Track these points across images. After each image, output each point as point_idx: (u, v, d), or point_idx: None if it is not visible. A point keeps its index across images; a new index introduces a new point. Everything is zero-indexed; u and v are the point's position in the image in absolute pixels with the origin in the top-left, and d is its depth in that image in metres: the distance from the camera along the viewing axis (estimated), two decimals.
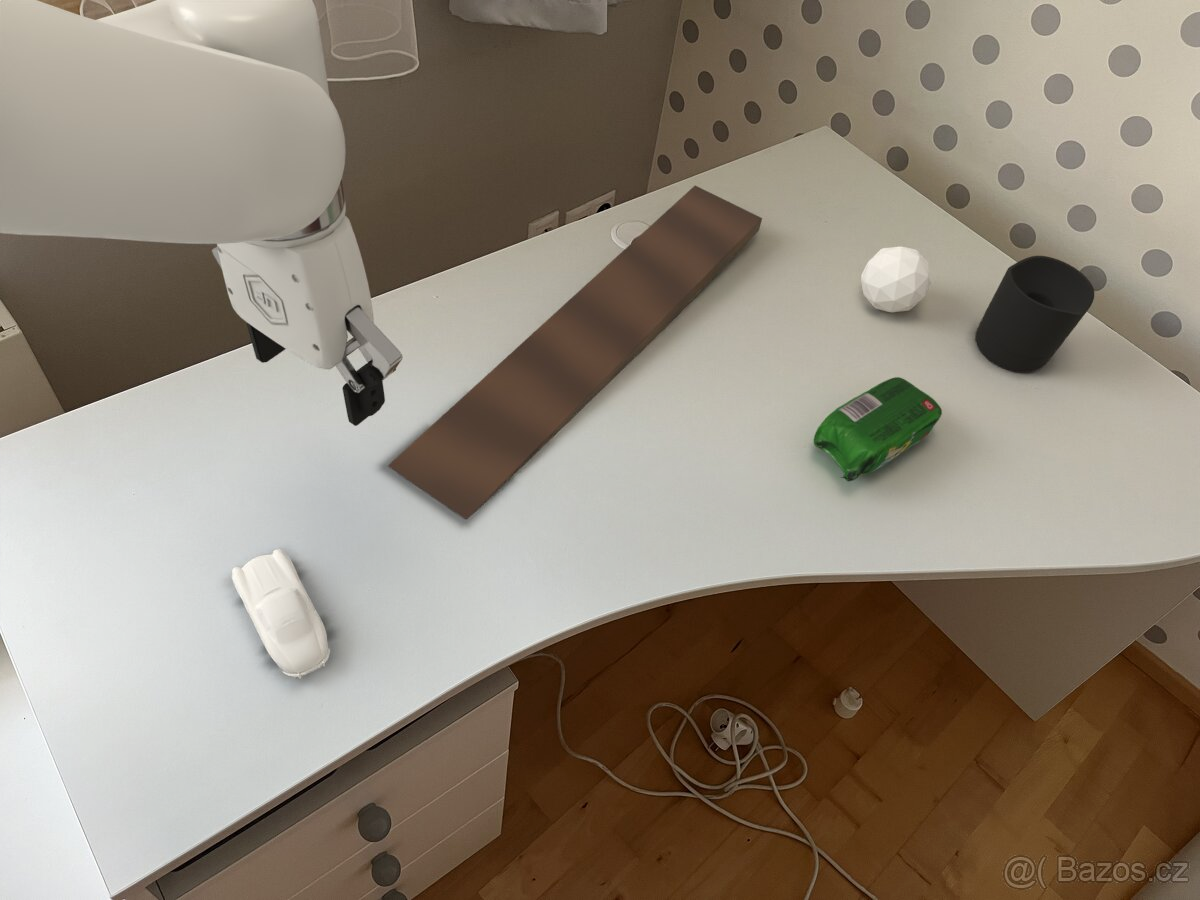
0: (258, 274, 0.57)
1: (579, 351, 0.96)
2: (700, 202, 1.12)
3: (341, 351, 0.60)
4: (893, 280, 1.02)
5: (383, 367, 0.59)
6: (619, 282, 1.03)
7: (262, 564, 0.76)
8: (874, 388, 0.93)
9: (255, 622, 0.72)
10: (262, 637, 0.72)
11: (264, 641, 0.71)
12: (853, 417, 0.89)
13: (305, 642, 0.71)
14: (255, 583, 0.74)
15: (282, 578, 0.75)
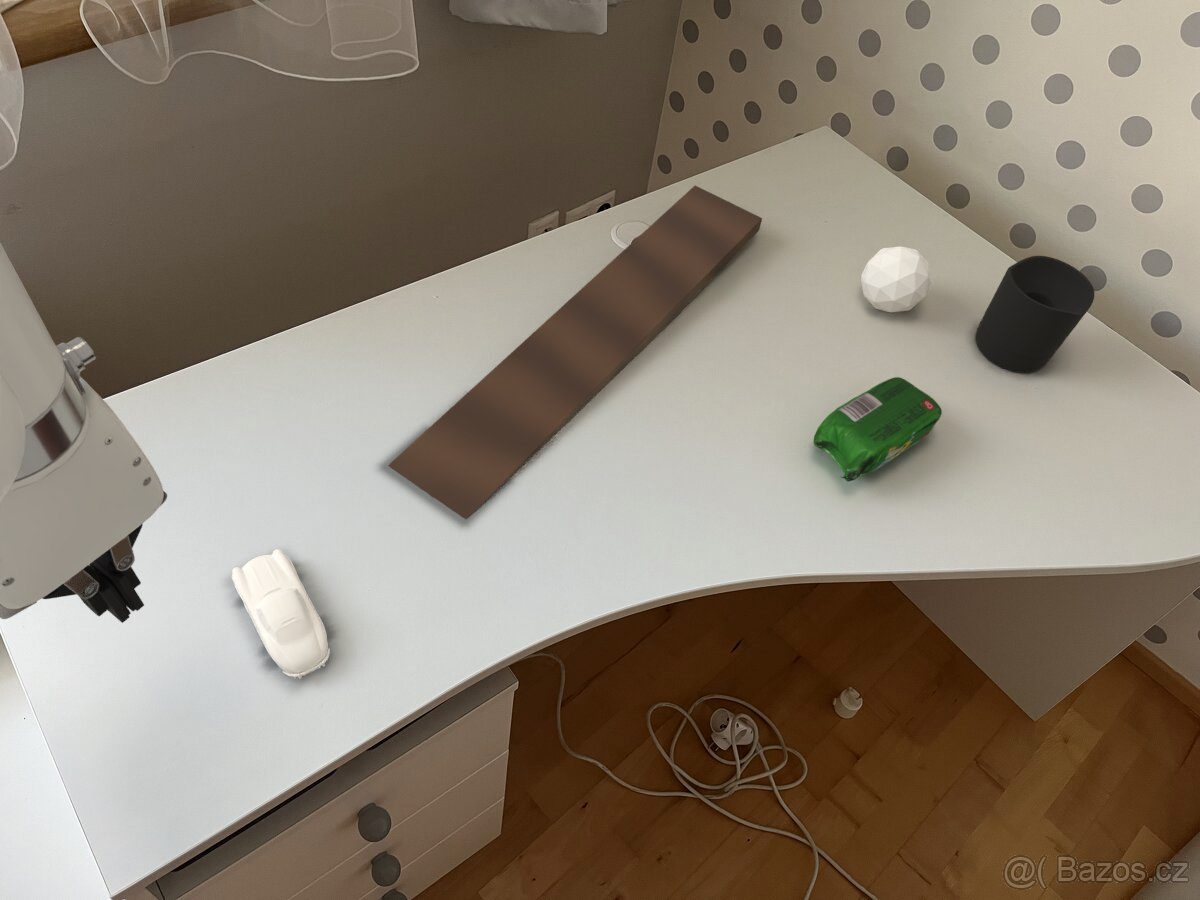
0: None
1: (579, 351, 0.96)
2: (700, 202, 1.12)
3: None
4: (893, 280, 1.02)
5: None
6: (619, 282, 1.03)
7: (262, 564, 0.76)
8: (874, 388, 0.93)
9: (255, 622, 0.72)
10: (262, 637, 0.72)
11: (264, 641, 0.71)
12: (853, 417, 0.89)
13: (305, 642, 0.71)
14: (255, 583, 0.74)
15: (282, 578, 0.75)
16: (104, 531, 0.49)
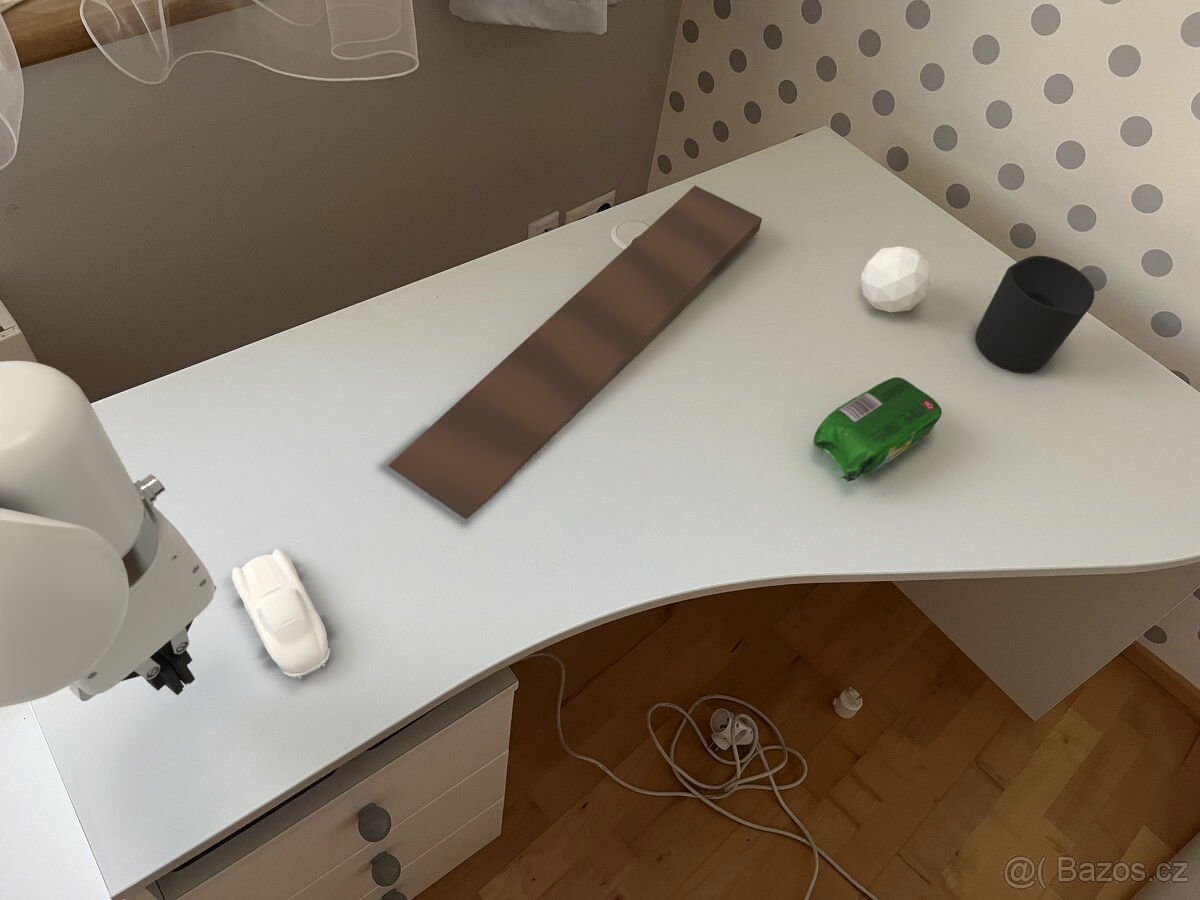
0: None
1: (579, 351, 0.96)
2: (700, 202, 1.12)
3: None
4: (893, 280, 1.02)
5: None
6: (619, 282, 1.03)
7: (262, 564, 0.76)
8: (874, 388, 0.93)
9: (255, 622, 0.72)
10: (262, 637, 0.72)
11: (264, 641, 0.71)
12: (853, 417, 0.89)
13: (305, 642, 0.71)
14: (255, 583, 0.74)
15: (282, 578, 0.75)
16: (167, 626, 0.59)
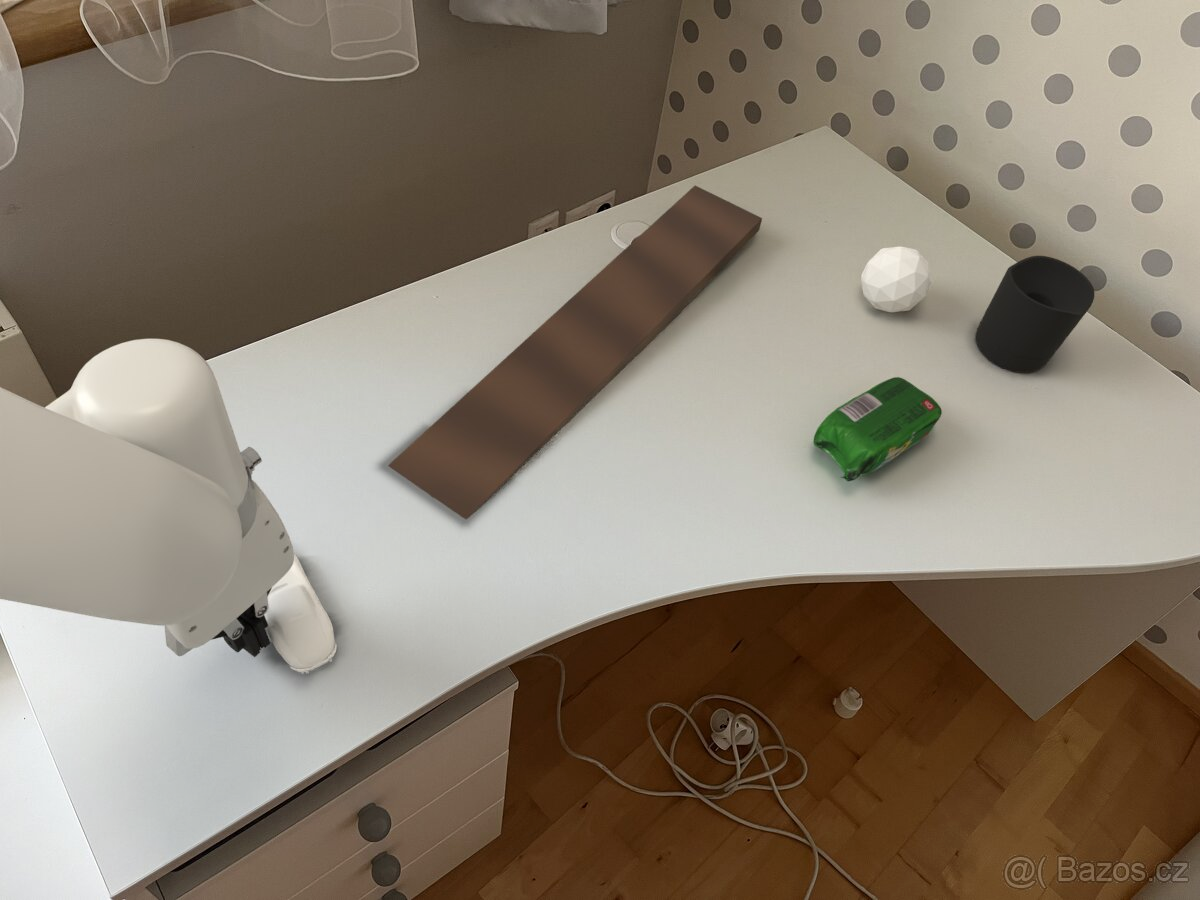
0: None
1: (579, 351, 0.96)
2: (700, 202, 1.12)
3: None
4: (893, 280, 1.02)
5: None
6: (619, 282, 1.03)
7: None
8: (874, 388, 0.93)
9: None
10: (269, 633, 0.72)
11: (271, 637, 0.72)
12: (853, 417, 0.89)
13: (312, 637, 0.72)
14: None
15: (288, 574, 0.75)
16: (255, 588, 0.65)
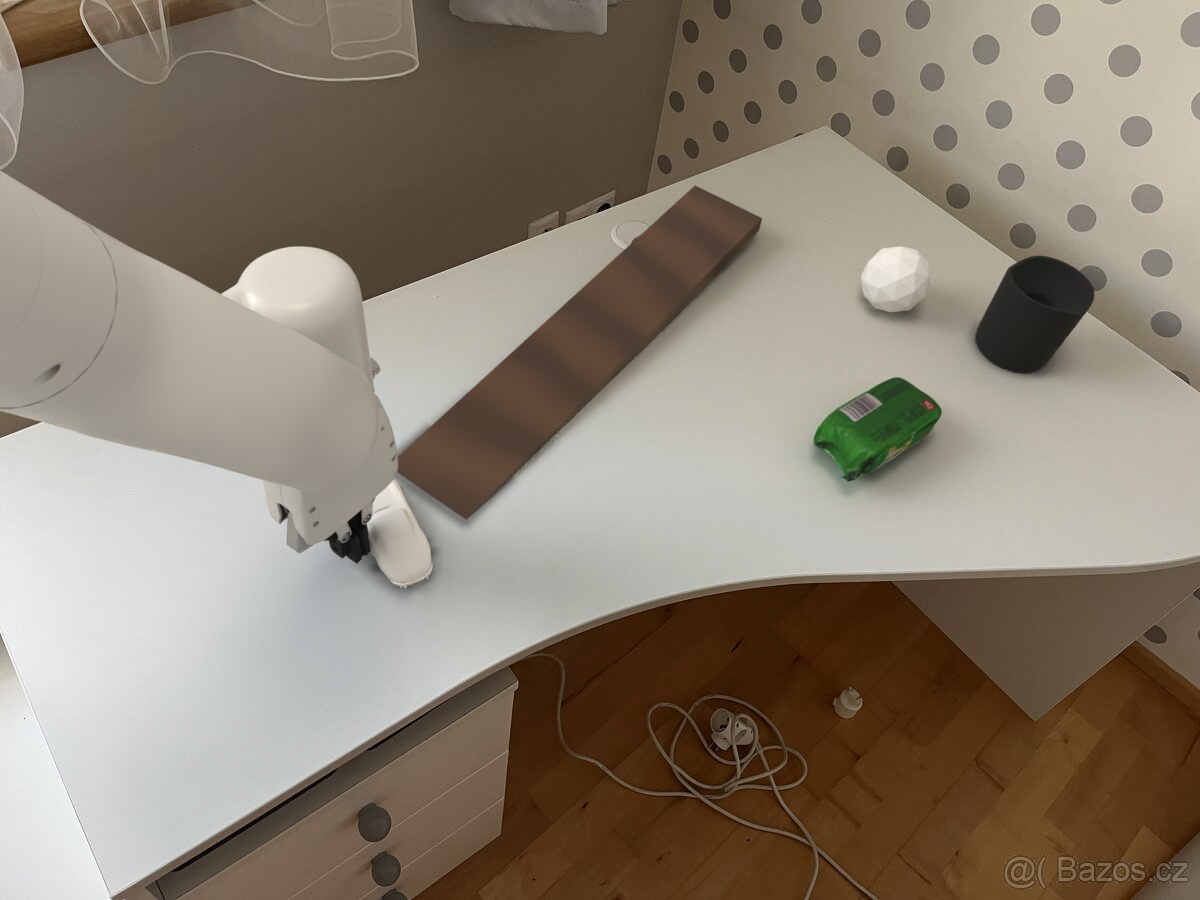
0: None
1: (579, 351, 0.96)
2: (700, 202, 1.12)
3: None
4: (893, 280, 1.02)
5: None
6: (619, 282, 1.03)
7: None
8: (874, 388, 0.93)
9: None
10: (372, 548, 0.78)
11: (374, 552, 0.78)
12: (853, 417, 0.89)
13: (412, 555, 0.77)
14: None
15: (391, 498, 0.81)
16: (367, 492, 0.71)
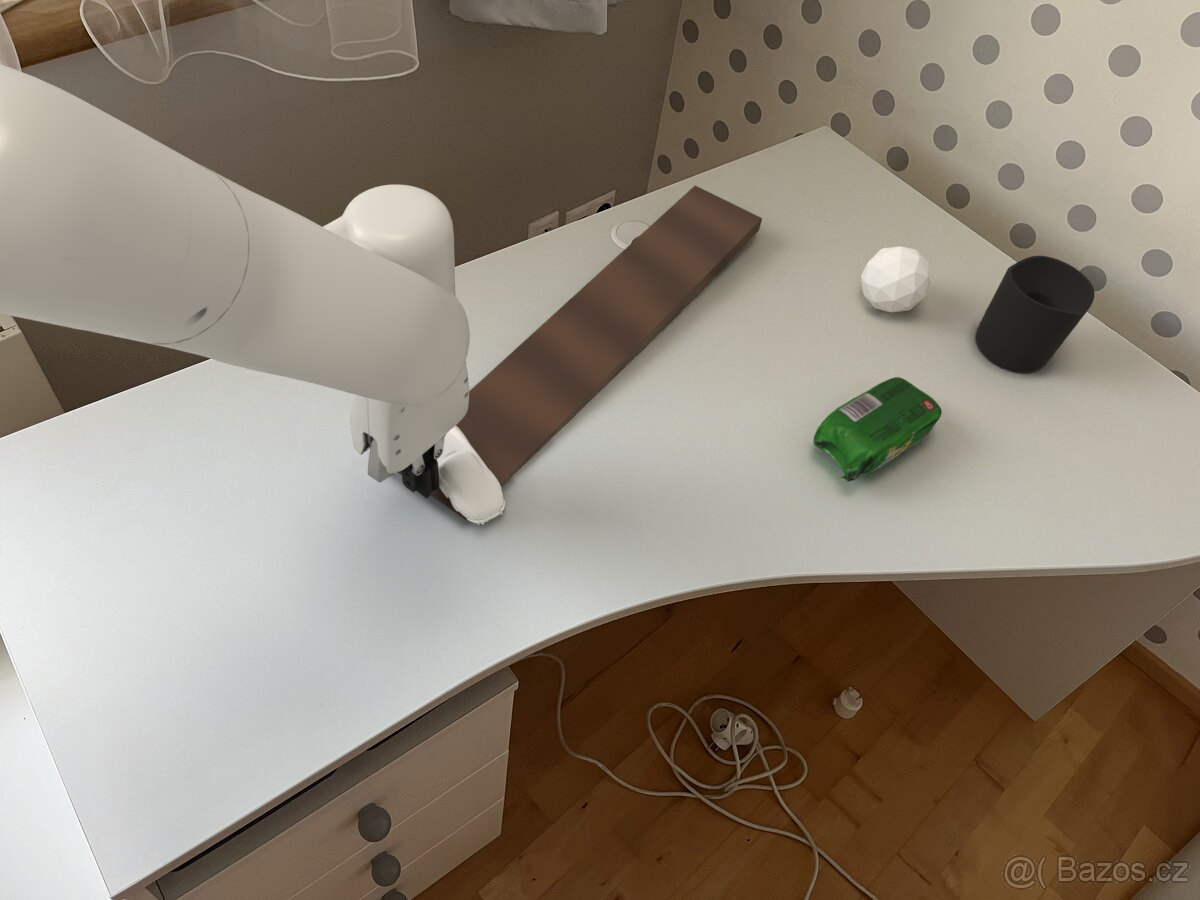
0: None
1: (579, 351, 0.96)
2: (700, 202, 1.12)
3: None
4: (893, 280, 1.02)
5: None
6: (619, 282, 1.03)
7: None
8: (874, 388, 0.93)
9: (439, 479, 0.83)
10: (447, 491, 0.82)
11: (449, 494, 0.82)
12: (853, 417, 0.89)
13: (485, 493, 0.82)
14: None
15: (456, 443, 0.85)
16: (442, 426, 0.76)
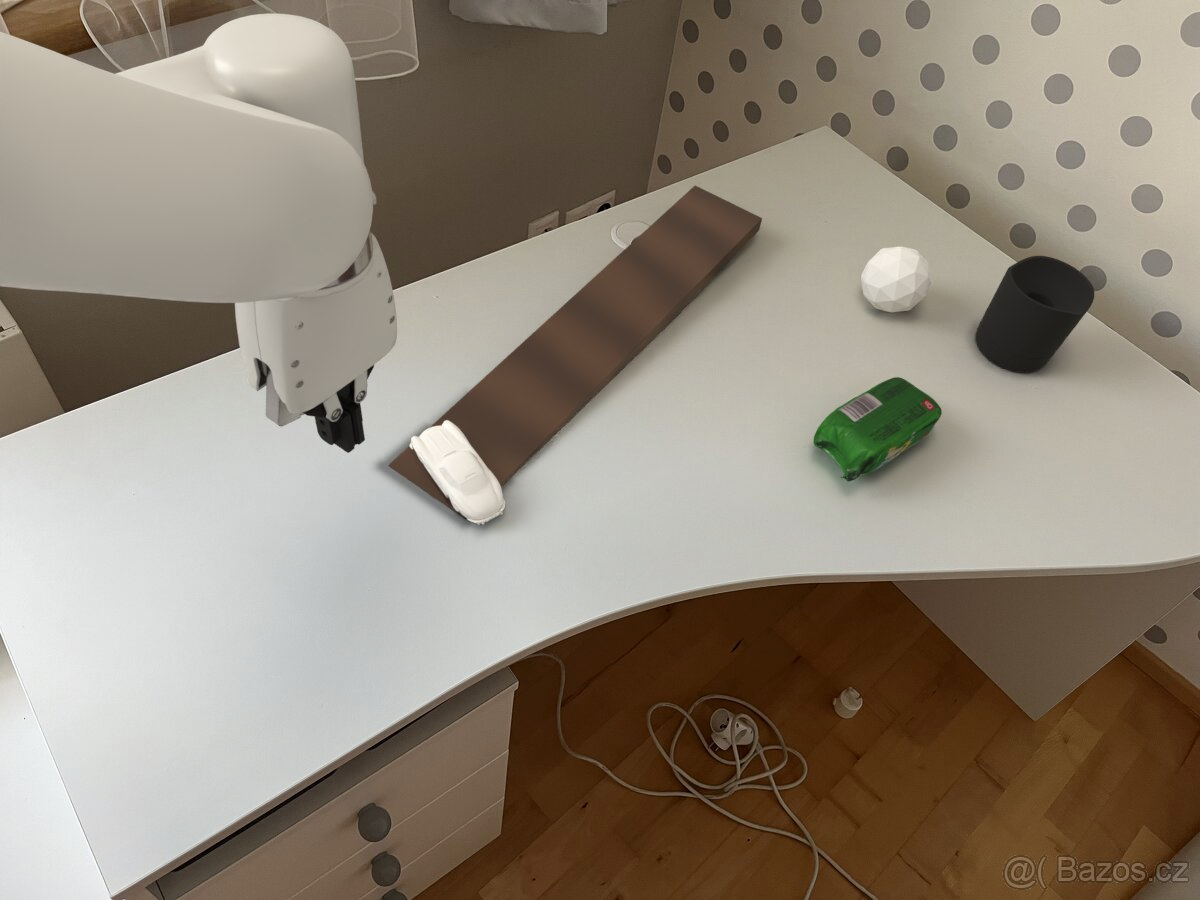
0: None
1: (579, 351, 0.96)
2: (700, 202, 1.12)
3: None
4: (893, 280, 1.02)
5: None
6: (619, 282, 1.03)
7: (436, 433, 0.86)
8: (874, 388, 0.93)
9: (439, 479, 0.83)
10: (447, 491, 0.82)
11: (450, 494, 0.82)
12: (853, 417, 0.89)
13: (485, 493, 0.82)
14: (434, 448, 0.85)
15: (456, 443, 0.85)
16: (360, 357, 0.61)
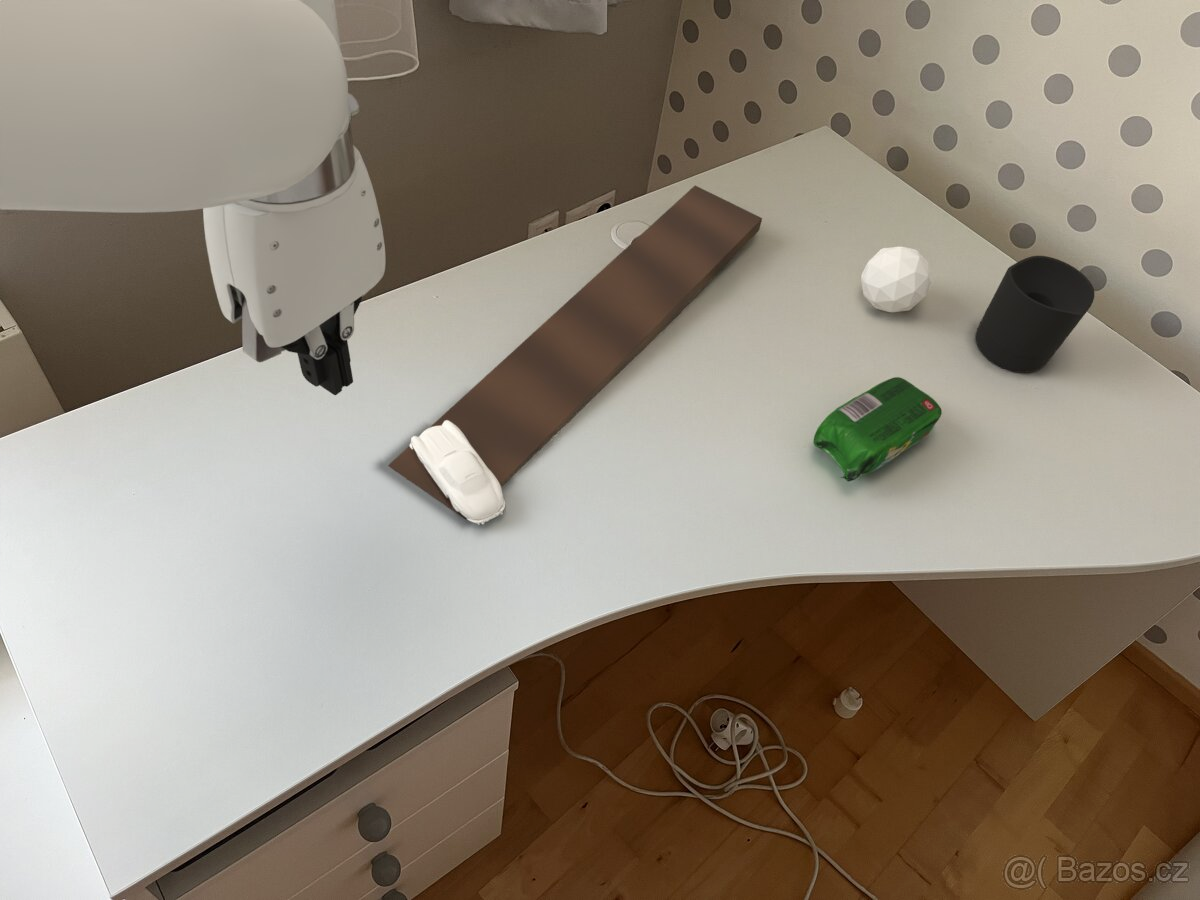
0: None
1: (579, 351, 0.96)
2: (700, 202, 1.12)
3: None
4: (893, 280, 1.02)
5: None
6: (619, 282, 1.03)
7: (436, 433, 0.86)
8: (874, 388, 0.93)
9: (439, 479, 0.83)
10: (447, 491, 0.82)
11: (450, 494, 0.82)
12: (853, 417, 0.89)
13: (485, 493, 0.82)
14: (434, 448, 0.85)
15: (456, 443, 0.85)
16: (345, 286, 0.56)
